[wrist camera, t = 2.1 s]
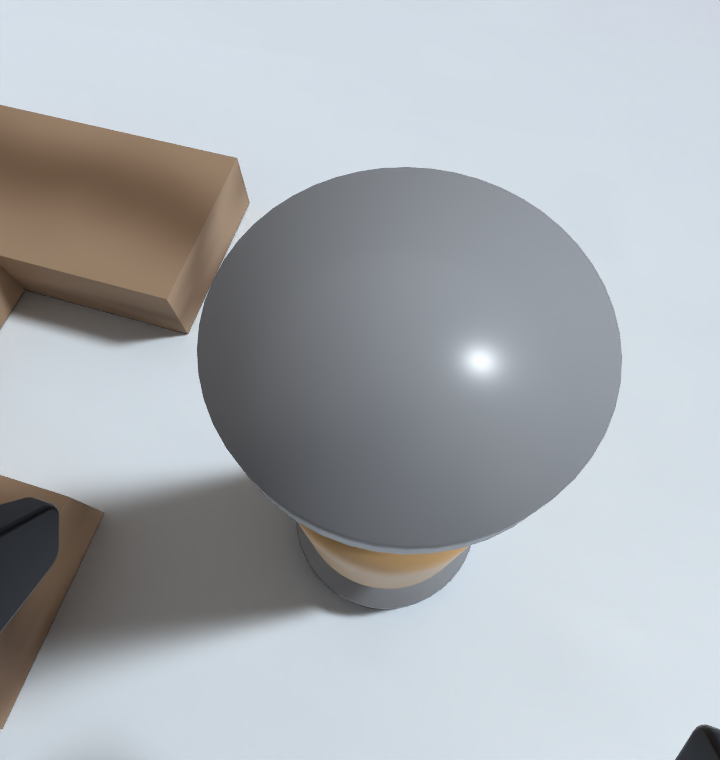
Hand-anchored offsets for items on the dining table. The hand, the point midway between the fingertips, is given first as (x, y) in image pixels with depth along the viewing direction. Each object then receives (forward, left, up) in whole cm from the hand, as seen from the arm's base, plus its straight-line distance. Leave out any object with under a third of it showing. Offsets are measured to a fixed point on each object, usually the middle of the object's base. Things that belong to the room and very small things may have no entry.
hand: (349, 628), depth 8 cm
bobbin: (+3, 0, -11) cm, 11 cm away
